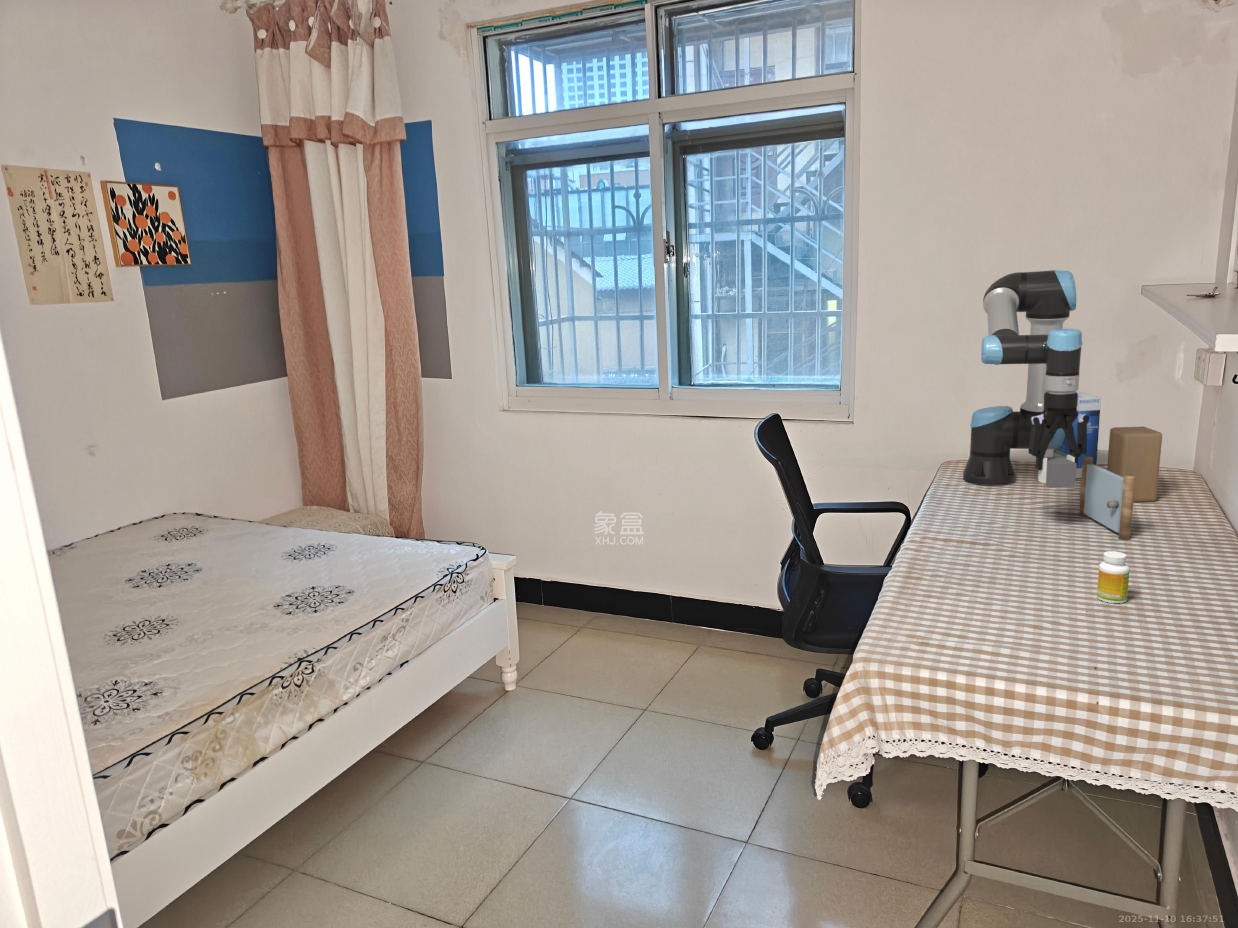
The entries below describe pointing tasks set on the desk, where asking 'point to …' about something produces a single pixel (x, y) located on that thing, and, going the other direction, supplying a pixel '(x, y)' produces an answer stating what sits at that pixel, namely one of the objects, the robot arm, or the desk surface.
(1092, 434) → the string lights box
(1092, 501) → the door
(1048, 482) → the block
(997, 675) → the desk surface
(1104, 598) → the supplement bottle
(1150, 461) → the wooden block
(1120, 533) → the door frame
